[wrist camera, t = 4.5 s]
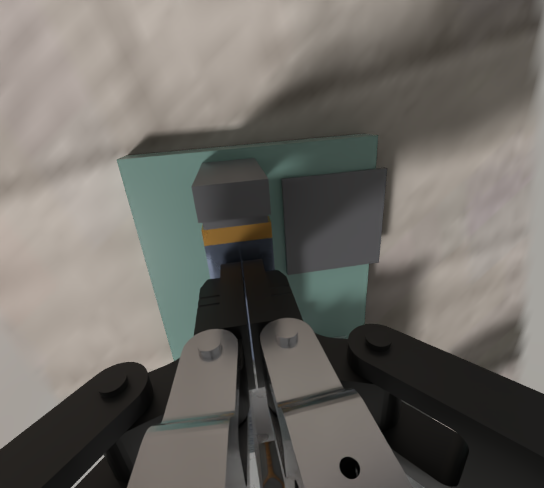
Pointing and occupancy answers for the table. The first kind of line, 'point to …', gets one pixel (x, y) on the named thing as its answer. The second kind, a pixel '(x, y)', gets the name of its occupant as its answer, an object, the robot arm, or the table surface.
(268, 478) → the vase
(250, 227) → the blue-grey flat piece
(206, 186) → the block
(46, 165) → the table surface
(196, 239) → the board
